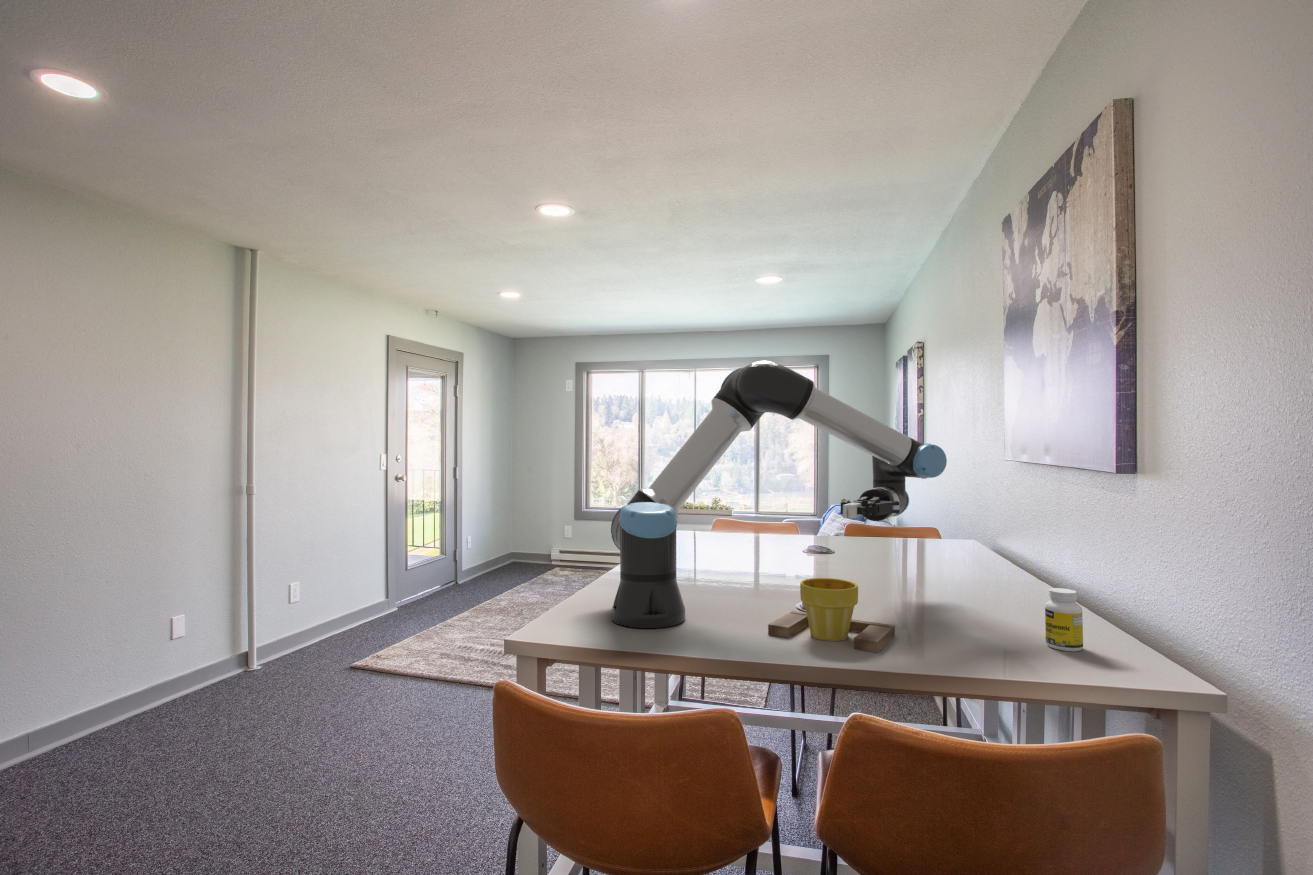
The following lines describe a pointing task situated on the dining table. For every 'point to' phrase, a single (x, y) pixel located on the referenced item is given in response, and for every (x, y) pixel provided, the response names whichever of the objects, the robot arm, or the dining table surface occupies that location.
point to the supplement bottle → (1063, 620)
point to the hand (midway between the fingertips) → (847, 511)
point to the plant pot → (829, 606)
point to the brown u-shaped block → (868, 639)
